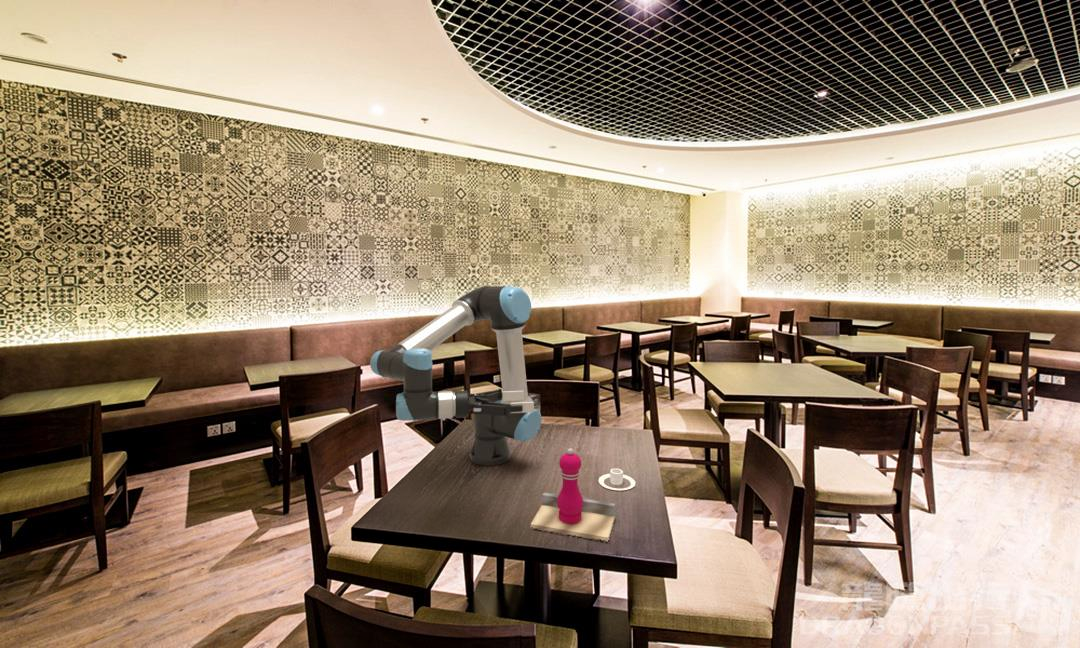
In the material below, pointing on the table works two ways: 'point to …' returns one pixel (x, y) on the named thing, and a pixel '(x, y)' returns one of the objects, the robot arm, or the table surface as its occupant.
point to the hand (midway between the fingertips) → (528, 400)
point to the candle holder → (616, 479)
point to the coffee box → (535, 401)
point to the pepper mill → (570, 488)
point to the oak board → (592, 523)
